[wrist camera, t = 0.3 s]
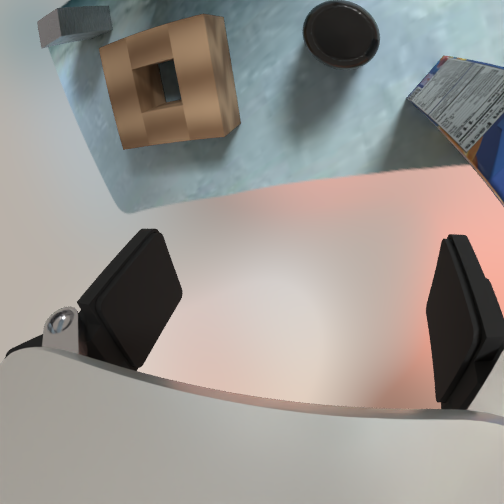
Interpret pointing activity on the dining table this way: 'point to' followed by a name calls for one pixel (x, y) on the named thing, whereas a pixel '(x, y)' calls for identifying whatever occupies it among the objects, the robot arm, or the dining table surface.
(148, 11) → the dining table surface
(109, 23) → the square bit
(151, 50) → the socket block
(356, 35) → the supplement bottle
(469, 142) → the juice carton
